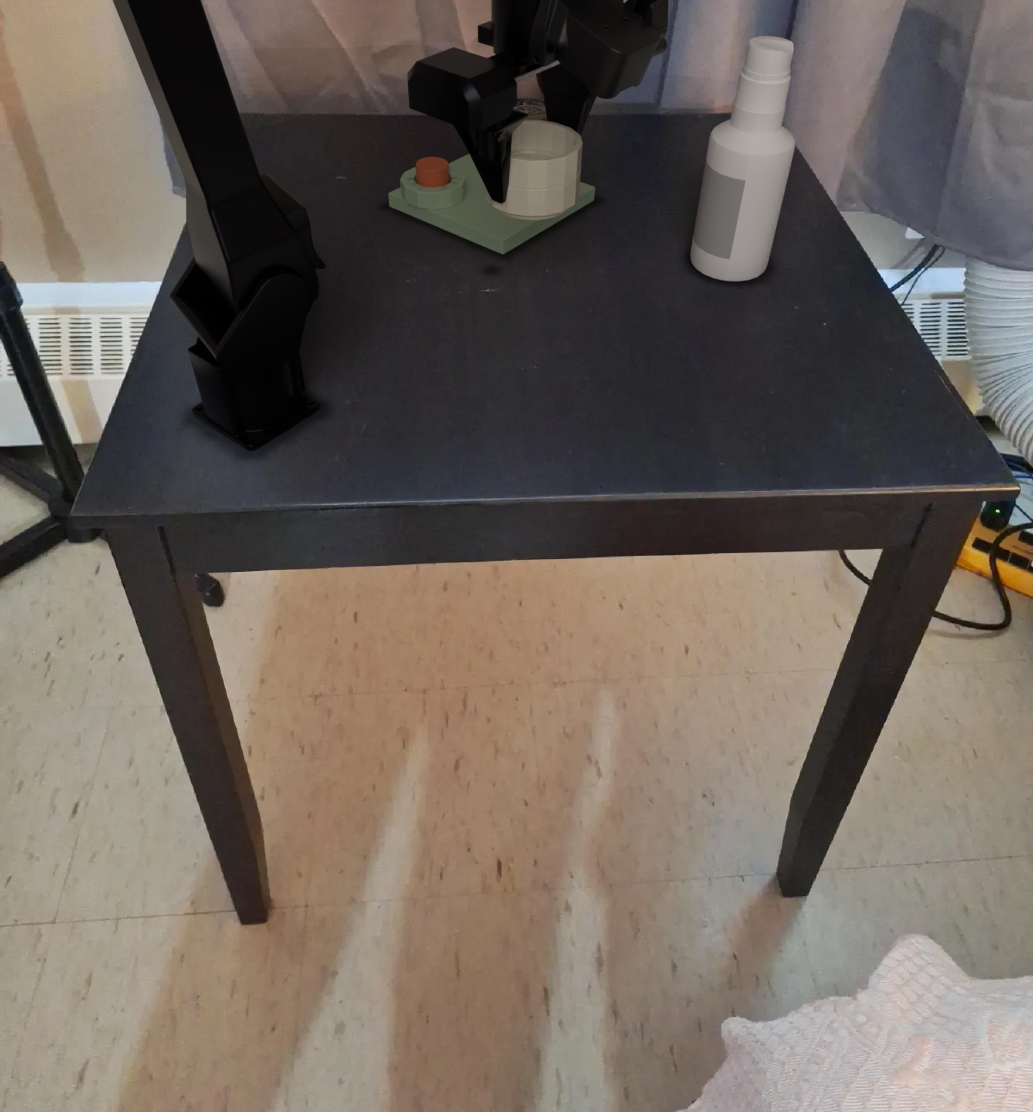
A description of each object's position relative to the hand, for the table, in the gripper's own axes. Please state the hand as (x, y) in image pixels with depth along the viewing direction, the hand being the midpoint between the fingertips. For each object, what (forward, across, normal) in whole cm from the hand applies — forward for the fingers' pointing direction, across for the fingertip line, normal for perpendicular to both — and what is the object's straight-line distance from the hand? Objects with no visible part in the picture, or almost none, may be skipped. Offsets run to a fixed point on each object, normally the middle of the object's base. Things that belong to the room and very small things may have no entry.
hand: (530, 184), depth 69 cm
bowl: (+1, 0, 0) cm, 1 cm away
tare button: (+9, +9, +19) cm, 22 cm away
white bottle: (+12, +19, -8) cm, 23 cm away
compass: (+12, +32, +25) cm, 42 cm away
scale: (+11, +13, +15) cm, 23 cm away
